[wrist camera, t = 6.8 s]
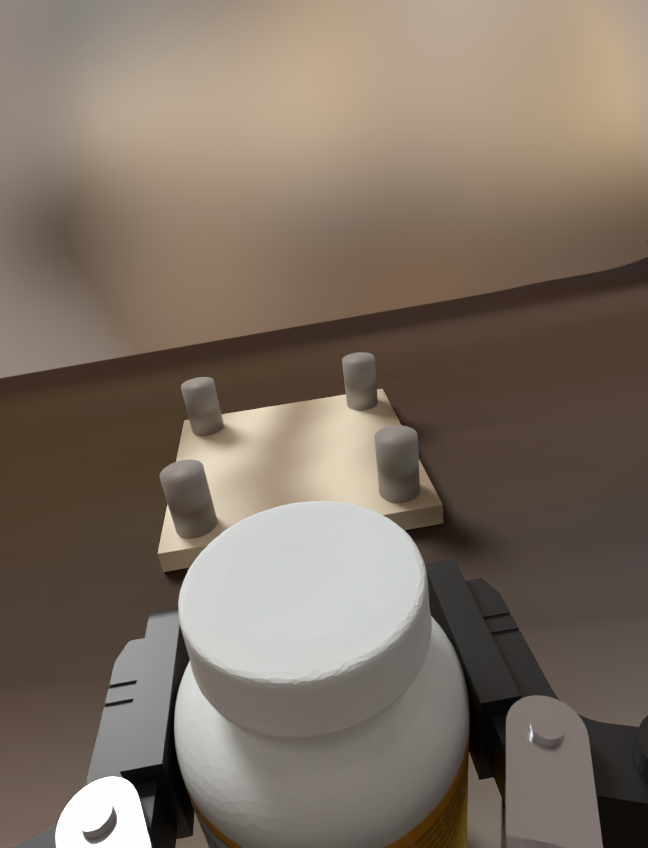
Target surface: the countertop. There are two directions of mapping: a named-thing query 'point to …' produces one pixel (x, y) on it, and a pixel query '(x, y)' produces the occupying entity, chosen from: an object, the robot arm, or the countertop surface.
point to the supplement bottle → (320, 688)
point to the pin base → (291, 462)
